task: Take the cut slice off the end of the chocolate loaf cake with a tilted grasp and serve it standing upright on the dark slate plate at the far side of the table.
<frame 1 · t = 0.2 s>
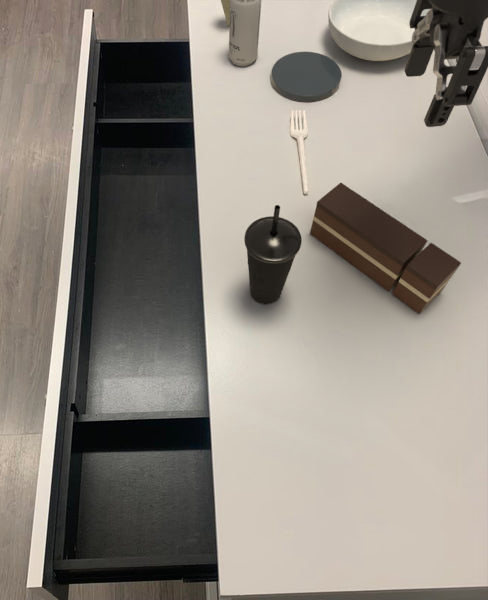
hand: (423, 98, 60), 30 cm above the table, tool pointing down, fingers open, 8 cm apart
energy drink can: (242, 59, 113), on the table
cake slice: (416, 293, 81), on the table
serving bowl: (372, 44, 113), on the table
fork: (301, 155, 98), on the table
ice cream cone: (228, 26, 119), on the table
drinking cup: (265, 291, 83), on the table
loaf cake: (358, 251, 86), on the table
plate: (305, 79, 108), on the table
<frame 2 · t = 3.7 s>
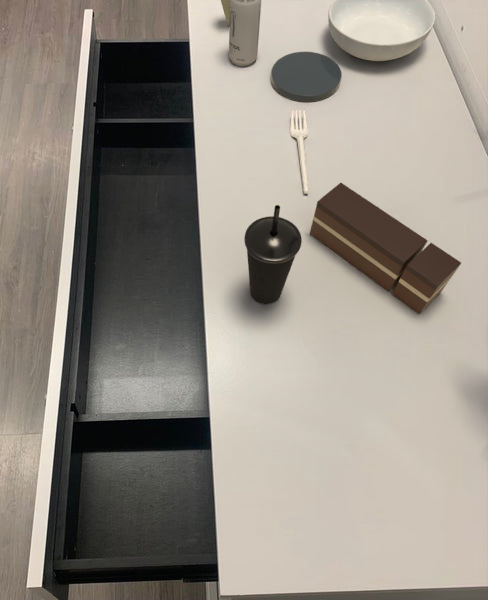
nothing on the table moved.
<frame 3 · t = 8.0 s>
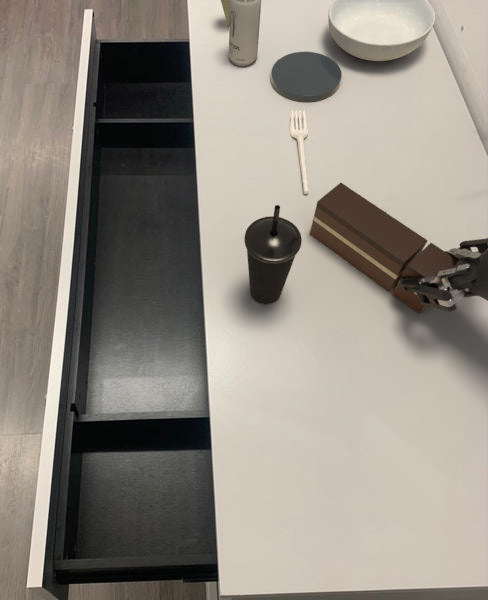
hand: (415, 271, 79), 4 cm above the table, tool tilted 45°, fingers closed on cake slice, 5 cm apart
cake slice: (416, 293, 81), on the table, touching gripper
everything else where it was.
when the fingers open (6 cm above the table, at t = 20.7 s): cake slice stays where it is, resting on plate.
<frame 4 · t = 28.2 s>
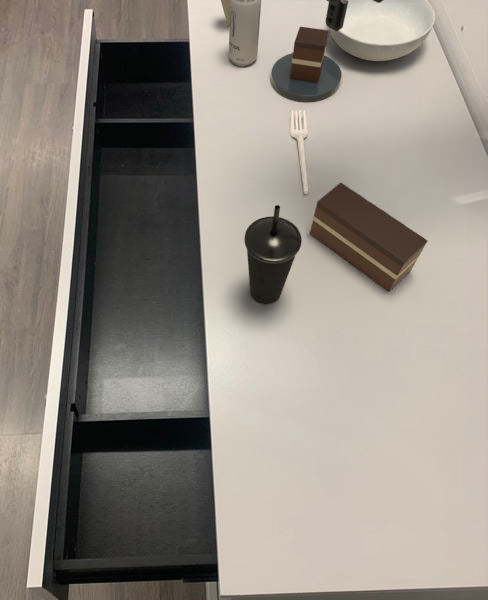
hand: (355, 13, 69), 30 cm above the table, tool pointing down, fingers open, 8 cm apart
cake slice: (305, 73, 107), point 2 cm above the table, touching plate
everything else where it was.
at the end: cake slice inside the target area on the plate (0.1 cm from its centre), point 1.5 cm above the plate's base; cake slice tilted 0°; the gripper is holding nothing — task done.
